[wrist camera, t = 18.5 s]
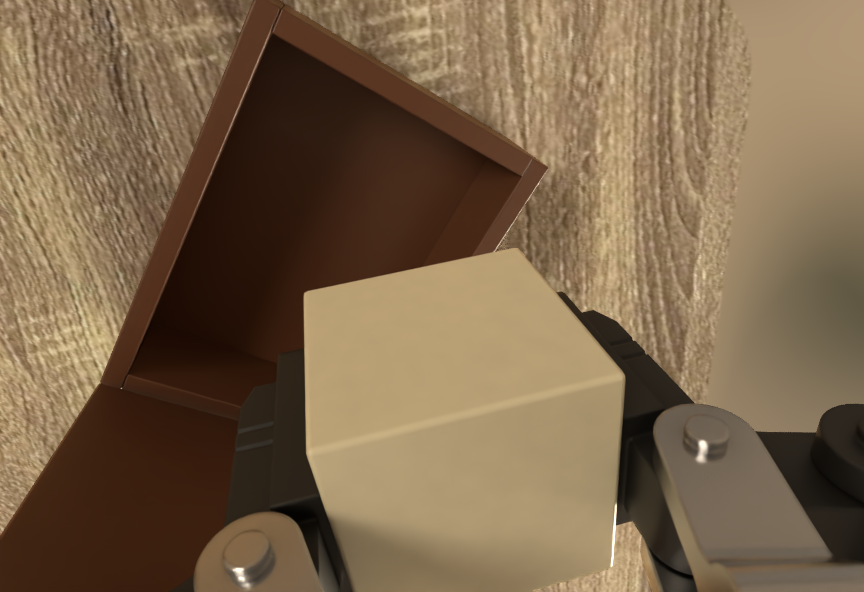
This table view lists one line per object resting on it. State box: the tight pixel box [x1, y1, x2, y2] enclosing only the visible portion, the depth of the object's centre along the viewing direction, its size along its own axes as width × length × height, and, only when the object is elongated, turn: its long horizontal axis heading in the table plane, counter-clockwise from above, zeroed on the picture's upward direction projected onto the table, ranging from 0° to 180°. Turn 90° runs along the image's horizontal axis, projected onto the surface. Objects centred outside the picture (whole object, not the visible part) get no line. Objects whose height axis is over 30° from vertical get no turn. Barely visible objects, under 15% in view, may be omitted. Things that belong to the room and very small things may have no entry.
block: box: [304, 248, 626, 592], centre depth 9 cm, size 4×4×4 cm
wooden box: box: [100, 0, 548, 421], centre depth 23 cm, size 16×12×5 cm
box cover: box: [0, 384, 238, 592], centre depth 16 cm, size 16×12×5 cm
